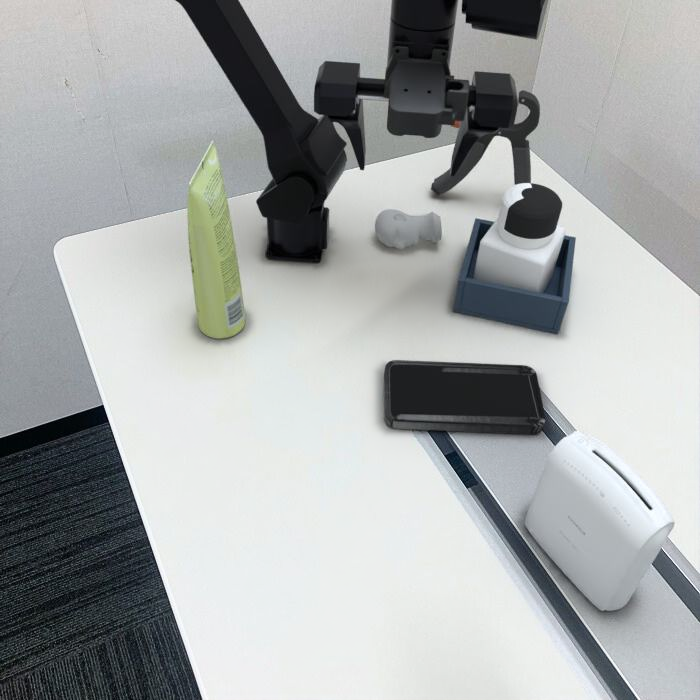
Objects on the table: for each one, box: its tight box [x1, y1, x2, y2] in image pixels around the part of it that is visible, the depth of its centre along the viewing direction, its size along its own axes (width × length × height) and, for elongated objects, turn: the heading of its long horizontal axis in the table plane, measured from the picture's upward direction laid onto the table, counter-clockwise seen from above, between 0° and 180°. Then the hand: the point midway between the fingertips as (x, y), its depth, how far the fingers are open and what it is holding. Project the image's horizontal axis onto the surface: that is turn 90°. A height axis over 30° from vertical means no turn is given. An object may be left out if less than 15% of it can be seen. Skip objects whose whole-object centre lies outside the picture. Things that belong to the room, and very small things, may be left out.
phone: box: [383, 359, 546, 435], centre depth 73 cm, size 8×1×15 cm
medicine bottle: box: [473, 182, 566, 293], centre depth 80 cm, size 7×7×12 cm
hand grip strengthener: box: [430, 89, 541, 197], centre depth 91 cm, size 2×13×15 cm, turn 79°
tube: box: [186, 139, 246, 339], centre depth 73 cm, size 6×5×20 cm
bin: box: [452, 217, 577, 335], centre depth 83 cm, size 11×11×5 cm
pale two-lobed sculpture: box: [374, 208, 443, 250], centre depth 89 cm, size 4×8×5 cm
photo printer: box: [524, 430, 676, 612], centre depth 57 cm, size 10×4×12 cm, turn 32°
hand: (407, 171), depth 77 cm, fingers open, 9 cm apart
